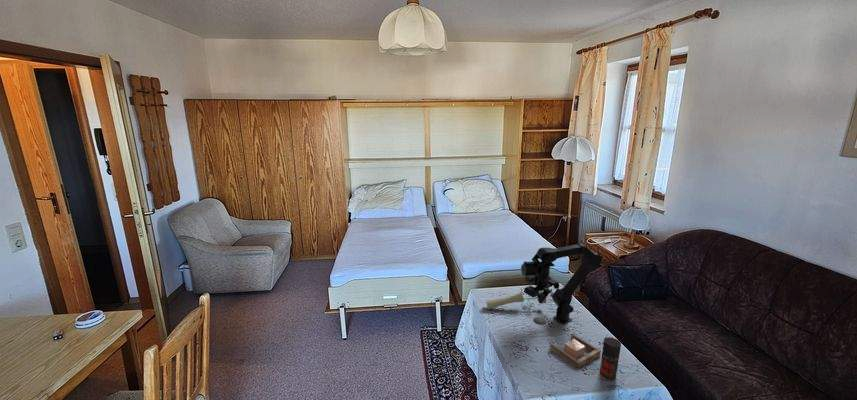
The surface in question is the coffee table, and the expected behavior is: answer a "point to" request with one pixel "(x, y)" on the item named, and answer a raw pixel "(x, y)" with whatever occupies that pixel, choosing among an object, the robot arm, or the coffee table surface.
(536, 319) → the pad
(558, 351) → the bay
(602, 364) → the deodorant
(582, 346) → the terracotta block
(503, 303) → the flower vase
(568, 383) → the coffee table surface
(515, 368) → the coffee table surface
